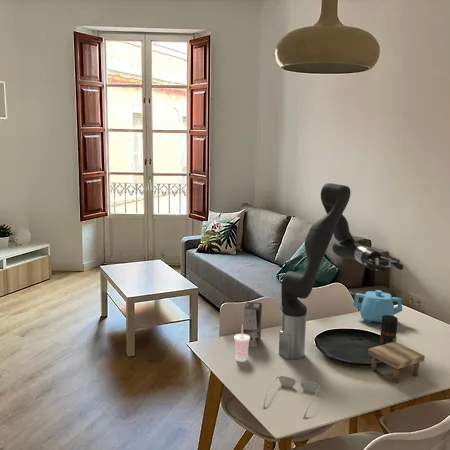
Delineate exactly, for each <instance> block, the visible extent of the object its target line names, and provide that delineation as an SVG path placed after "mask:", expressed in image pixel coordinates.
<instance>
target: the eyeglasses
mask: <svg viewBox="0 0 450 450" xmlns="http://www.w3.org/2000/svg"><path fill="white" fill-rule="evenodd" d="M276 380H279V383H280V385H281V386H282V387H283V386H284V387H288V388H294V386H296V382H297V383H300V386H301V387H300V388H302V389H303V391H307V392H312V393H316V394H315V395H314V397H313V398H312V399H311V401H309V404H308V405H307V407H306V410H305V412H304V414H303V416H302V419H303V420H305V419H306V417H307V413H308V410H309V408H310V405H311V404H312V402H313V401H314V400H315V397H316V395H317V394H318V392H319V390H320V388H321V386H322V385H320V384H318V383H316V382H314V381H310V380H309V381H308V380H302V381H300V380H296V379H295V378H293V377H290V376H287V375H280V376H278V375H277V376H276V377H275V379H274V381H276ZM273 384H274V382H272V383H271V385H270V386H269V387H268V388H267V391H266V393H265V398H264V401H263V405H262V410H265V408H266V400H267V399H266V398H267V395H268V392H269V390H270V388H271V386H272V385H273Z"/></svg>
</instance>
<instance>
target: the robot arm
mask: <svg viewBox="0 0 450 450" xmlns="http://www.w3.org/2000/svg"><path fill="white" fill-rule="evenodd" d="M351 192H352V191H351V188H350V187H349V186H347V185H343V184H338V183H331V182H328V183H327V182H326V183H325V184H323V186H322V187H321V190H320V201H321V203H322V205H323V208H324V210H325V213H326V214H325V215H324V216H323V217H322V218H320V219H319V220H317V221H316V222H314V224H312V225H311V227H310V228H309V230H308V232H307V235H306V238H305V240H304V250H305V255H306V259H307V260H306V261H307V263H306V268H305V270H304V272H303V273H301V272H296V271H289V270H288V271H286V272H285V273H284V275H283V277H282V280H281V289H280V290H281V292H280V293H281V307H282V318H281V319H282V320H281V321H282V322H281V330H280V331H279V336H278V338H279V339H278V340H279V341H278V345H279V346H278V354H279V355H281V356H282V357H284V358H285V359H287V360H298V359H299V360H300V359H302V358H304V356H305V350H306V349H305V348H306V347H305V346H306V332H307V331H306V328H307V327H306V326H307V310H308V309H307V306H306V305H305V304H304V303H303V301H302V302H301V300H300V299H308V297H309V296H310V295H311V293H312V290H313V288H314V285H315V282H316V278H317V275H318V273H319V269H320V266H321V263H322V260H323V259H324V256H325V254H326V252H327V250H328V248H329V245H330V243H331V240H332V238H333V237H334V239H335V240H336V241H334V243H333V245H332V246H331V247H332V248H331V249H332V252H333V253H334V254H335V255H336V256H338V257H341V258H346V259H352V260H355V261H357V262H359V264H362V265H363V267H365V268H367V269H368V270H370V271H374V270H375V271H379V272H381V273H383V274H385V273H386V272H387V268H391V267H392V268H393V267H394V268H395V269H398V270H399V271H403V270H404V264H402V263H401V261H400V259H398V258H395V257H393V256H388V257H385V256H382V254H381V253H380V252H379V250H378V251H377V250H375V249H373V248H371V247H369V246H367V245H366V246H365V245H362V244H360V243H358V242H356V240H355V238H354V237H353V235H352V233H351V231H350V226H349V222H348V220H347V218H346V216H345V215H344V214H343V213H344V212H345V210H346V208H347V206H348V204H349V201H350V197H351Z"/></svg>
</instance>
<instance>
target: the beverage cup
mask: <svg viewBox="0 0 450 450" xmlns="http://www.w3.org/2000/svg"><path fill="white" fill-rule="evenodd" d="M243 328H244V323H242V324H241V333H238V334H237V333H236V334H235V335H234V337H233V340H234V351H235V360H236V361H237V362H242V363H243V362H246V361H248V356H249V340H250V336H249V335H246V334H243Z"/></svg>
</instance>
